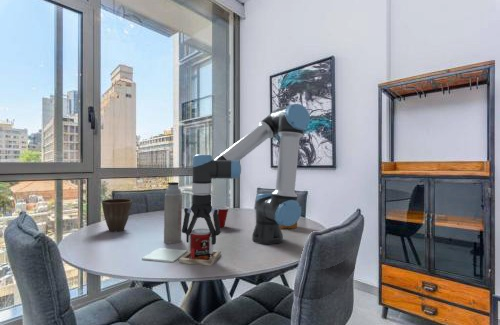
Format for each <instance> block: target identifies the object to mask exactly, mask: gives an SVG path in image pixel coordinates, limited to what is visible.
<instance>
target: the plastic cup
mask: <svg viewBox="0 0 500 325" xmlns="http://www.w3.org/2000/svg"><path fill="white" fill-rule="evenodd" d="M211 206H212V208H213V209H219V214H218V216H219V223H220V229H221V228H223V229H224V227H225V226H226V220H227V215H228V212H229V210H230V207H229V206H226V205H211ZM212 219H213V220H212V221H214V214H213V213H212ZM213 226H214V227H215V224H214V223H213Z"/></svg>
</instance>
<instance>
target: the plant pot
mask: <svg viewBox="0 0 500 325" xmlns="http://www.w3.org/2000/svg"><path fill="white" fill-rule="evenodd" d="M132 204H133V199H128V198H113V199H112V198H111V199H105V200H102V201H101V205H102V206H101V207H102V211H103V217H104V220H105V223H106V227H107V228H108V231H109V232H122V231H124V230H125V228H126V226H127V223H128V219H129V216H130V213H131V208H132Z"/></svg>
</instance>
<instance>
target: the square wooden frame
mask: <svg viewBox="0 0 500 325" xmlns="http://www.w3.org/2000/svg"><path fill="white" fill-rule="evenodd" d="M221 252H222V251H221V250H213V252H212V253H211V257H210V259H209V260H201V259H191V252H188V251H187V252H186V253H185V254H184V255H182V256H181V257H180V258H178V263H179V264H190V265H199V266H210V267H211V266H212V265H213V264H214V262H216V260H217V259H218V258H220V256H221V255H222V254H221Z"/></svg>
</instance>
